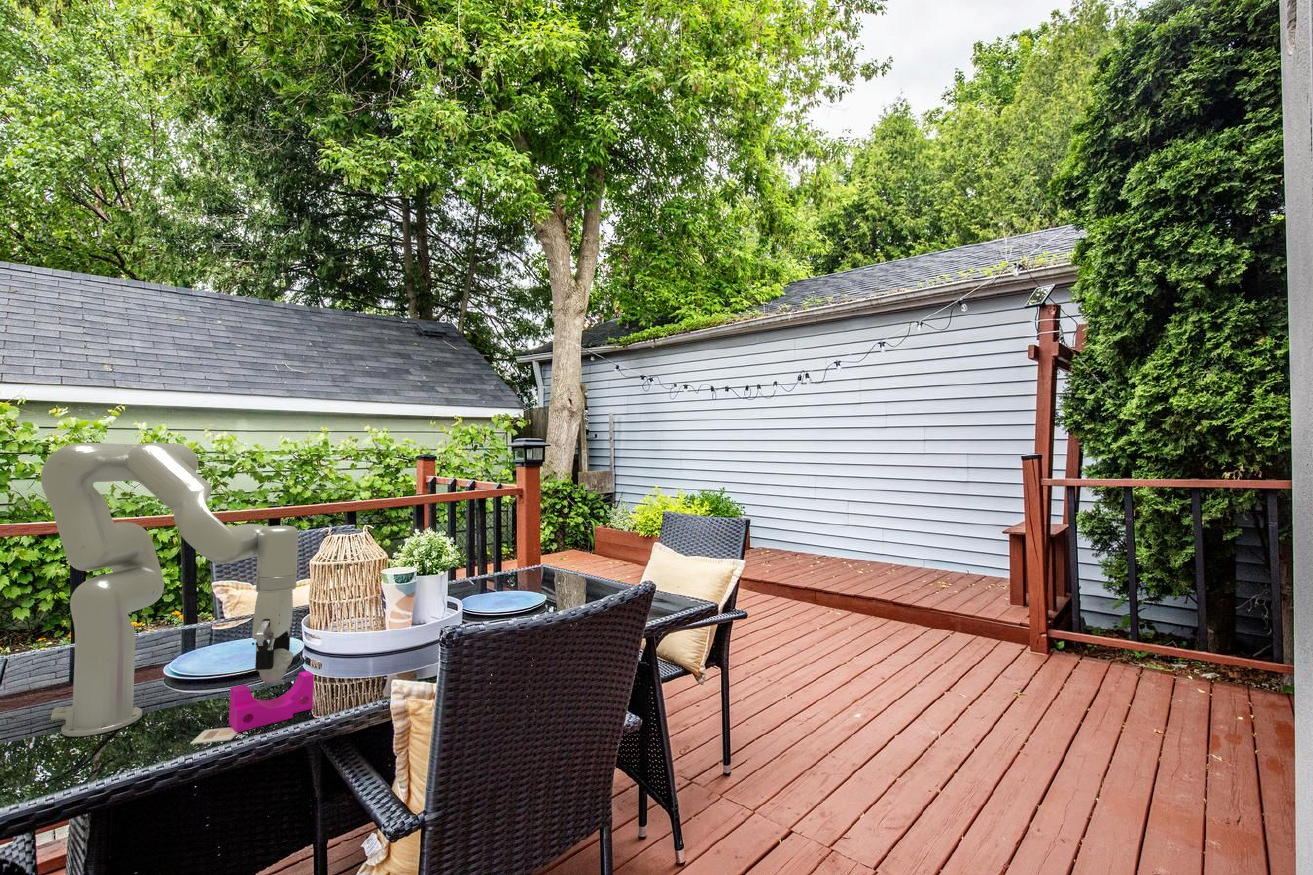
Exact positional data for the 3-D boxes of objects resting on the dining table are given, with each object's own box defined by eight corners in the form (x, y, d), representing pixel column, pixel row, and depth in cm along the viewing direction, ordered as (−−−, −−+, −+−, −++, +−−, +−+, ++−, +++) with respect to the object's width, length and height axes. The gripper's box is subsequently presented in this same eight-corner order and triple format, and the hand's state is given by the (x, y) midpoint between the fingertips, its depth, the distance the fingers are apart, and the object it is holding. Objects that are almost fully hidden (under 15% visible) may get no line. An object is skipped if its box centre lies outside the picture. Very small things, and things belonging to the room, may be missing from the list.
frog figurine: (297, 680, 132) (299, 648, 132) (262, 689, 126) (263, 656, 126) (285, 674, 135) (286, 643, 136) (250, 683, 129) (251, 651, 130)
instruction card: (190, 744, 118) (190, 742, 118) (204, 730, 124) (204, 729, 124) (230, 739, 120) (230, 738, 120) (243, 727, 126) (243, 725, 126)
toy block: (236, 732, 122) (237, 695, 123) (228, 723, 127) (230, 687, 127) (316, 711, 133) (317, 677, 134) (307, 703, 138) (308, 670, 138)
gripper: (272, 575, 139) (268, 650, 138) (240, 591, 122) (236, 676, 121) (308, 574, 141) (304, 648, 140) (281, 590, 124) (277, 674, 123)
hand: (272, 661), depth 131 cm, fingers open, 9 cm apart
